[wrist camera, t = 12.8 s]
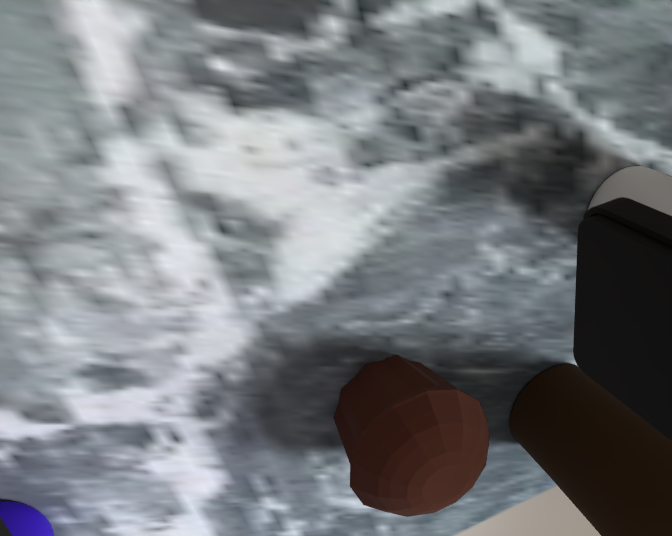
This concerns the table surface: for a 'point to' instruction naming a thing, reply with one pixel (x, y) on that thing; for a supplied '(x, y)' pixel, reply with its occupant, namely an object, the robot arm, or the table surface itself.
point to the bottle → (24, 520)
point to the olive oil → (597, 452)
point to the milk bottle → (637, 188)
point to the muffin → (410, 437)
